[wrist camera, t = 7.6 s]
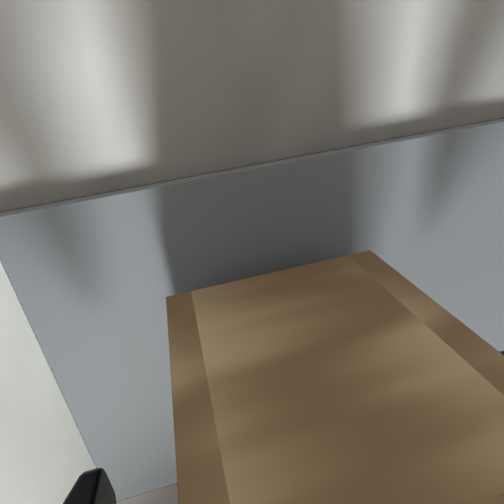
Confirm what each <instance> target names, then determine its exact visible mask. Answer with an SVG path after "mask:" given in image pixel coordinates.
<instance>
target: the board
mask: <svg viewBox="0 0 504 504" xmlns="http://www.w3.org/2000/svg"><path fill="white" fill-rule="evenodd" d="M368 250H371V251H372V252H373V253H374V254H376V255H377V256H378V257H380V258H381V259H382V260H383V261H385V262H386V263H387V264H388V265H390V266H391V267H392V268H393V269H395V270H396V271H397V272H399V273H400V274H401V275H402V276H404V277H405V278H406V279H407V280H409V281H410V282H411V283H412V284H414V285H415V286H416V287H418V288H419V289H420V290H421V291H423V292H424V293H425V294H426V295H428V296H429V297H430V298H432V299H433V300H434V301H435V302H437V303H438V304H439V305H440V306H442V307H443V308H444V309H445V310H447V311H448V312H449V313H451V314H452V315H453V316H454V317H456V318H457V319H458V320H459V321H461V322H462V323H463V324H465V325H466V326H467V327H468V328H470V329H471V330H472V331H473V332H475V333H476V334H477V335H478V336H480V337H481V338H482V339H484V340H485V341H486V342H487V343H489V344H490V345H491V346H492V347H494V348H495V349H496V350H498V351H504V118H502V119H497V120H492V121H486V122H481V123H476V124H470V125H465V126H460V127H454V128H449V129H444V130H438V131H433V132H428V133H422V134H417V135H412V136H406V137H401V138H396V139H390V140H385V141H380V142H374V143H369V144H364V145H358V146H353V147H348V148H342V149H337V150H332V151H326V152H321V153H316V154H310V155H305V156H300V157H294V158H289V159H284V160H278V161H273V162H268V163H262V164H257V165H252V166H246V167H241V168H236V169H230V170H225V171H220V172H214V173H209V174H204V175H198V176H193V177H188V178H182V179H177V180H172V181H166V182H161V183H156V184H150V185H145V186H140V187H134V188H129V189H123V190H118V191H113V192H107V193H102V194H97V195H91V196H86V197H81V198H75V199H70V200H65V201H59V202H54V203H49V204H43V205H38V206H33V207H27V208H22V209H17V210H11V211H6V212H1V213H0V261H1V263H2V265H3V268H4V270H5V272H6V274H7V276H8V278H9V281H10V283H11V285H12V287H13V289H14V291H15V293H16V296H17V298H18V300H19V302H20V304H21V306H22V309H23V311H24V313H25V315H26V317H27V319H28V322H29V324H30V326H31V328H32V330H33V332H34V334H35V337H36V339H37V341H38V343H39V345H40V347H41V350H42V352H43V354H44V356H45V358H46V360H47V363H48V365H49V367H50V369H51V371H52V373H53V375H54V378H55V380H56V382H57V384H58V386H59V388H60V391H61V393H62V395H63V397H64V399H65V401H66V404H67V406H68V408H69V410H70V412H71V414H72V416H73V419H74V421H75V423H76V425H77V427H78V429H79V432H80V434H81V436H82V438H83V440H84V442H85V445H86V447H87V449H88V451H89V453H90V455H91V457H92V460H93V462H94V464H95V466H96V468H103V469H104V470H105V471H106V474H107V476H108V478H109V480H110V482H111V485H112V487H113V489H114V492H115V495H116V502H118V501H121V500H124V499H127V498H131V497H134V496H137V495H140V494H144V493H147V492H150V491H154V490H157V489H160V488H163V487H167V486H170V485H173V484H176V483H177V470H176V454H175V438H174V421H173V405H172V389H171V373H170V356H169V340H168V324H167V307H166V297H168V296H172V295H177V294H181V293H185V292H190V291H194V290H198V289H203V288H207V287H211V286H216V285H220V284H224V283H229V282H233V281H237V280H242V279H246V278H250V277H255V276H259V275H264V274H268V273H272V272H277V271H281V270H285V269H290V268H294V267H298V266H303V265H307V264H311V263H316V262H320V261H324V260H329V259H333V258H337V257H342V256H346V255H351V254H355V253H359V252H364V251H368Z"/></svg>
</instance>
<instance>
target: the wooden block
mask: <svg viewBox="0 0 504 504" xmlns="http://www.w3.org/2000/svg"><path fill="white" fill-rule="evenodd" d="M166 307H167V324H168V340H169V356H170V373H171V389H172V405H173V421H174V438H175V454H176V470H177V487H178V503H179V504H504V355H503V354H501V353H500V352H499V351H498V350H496V349H495V348H494V347H492V346H491V345H490V344H489V343H487V342H486V341H485V340H484V339H482V338H481V337H480V336H478V335H477V334H476V333H475V332H473V331H472V330H471V329H470V328H468V327H467V326H466V325H465V324H463V323H462V322H461V321H459V320H458V319H457V318H456V317H454V316H453V315H452V314H451V313H449V312H448V311H447V310H445V309H444V308H443V307H442V306H440V305H439V304H438V303H437V302H435V301H434V300H433V299H432V298H430V297H429V296H428V295H426V294H425V293H424V292H423V291H421V290H420V289H419V288H418V287H416V286H415V285H414V284H412V283H411V282H410V281H409V280H407V279H406V278H405V277H404V276H402V275H401V274H400V273H399V272H397V271H396V270H395V269H393V268H392V267H391V266H390V265H388V264H387V263H386V262H385V261H383V260H382V259H381V258H380V257H378V256H377V255H376V254H374V253H373V252H372V251H371V250H368V251H364V252H359V253H355V254H351V255H346V256H342V257H337V258H333V259H329V260H324V261H320V262H316V263H311V264H307V265H303V266H298V267H294V268H290V269H285V270H281V271H277V272H272V273H268V274H264V275H259V276H255V277H250V278H246V279H242V280H237V281H233V282H229V283H224V284H220V285H216V286H211V287H207V288H203V289H198V290H194V291H190V292H185V293H181V294H177V295H172V296H168V297H166Z"/></svg>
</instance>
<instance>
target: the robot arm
mask: <svg viewBox="0 0 504 504" xmlns="http://www.w3.org/2000/svg"><path fill="white" fill-rule="evenodd" d="M499 352H500V353H501V354H503V355H504V351H499ZM63 504H116V495H115V492H114V489H113V487H112V485H111V482H110V480H109V478H108V476H107V474H106V471H105V470H104V469H103V468H96V469H93V470H90V471H86V472H84V473H82V474H81V475H80V477H79V478H78V480H77V481H76V483H75V485H74V486H73V488H72V490H71V491H70V493H69V494H68V496H67V498H66V499H65V501H64V503H63Z"/></svg>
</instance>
